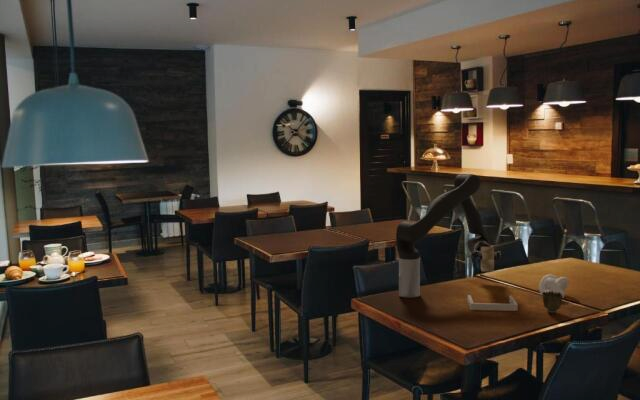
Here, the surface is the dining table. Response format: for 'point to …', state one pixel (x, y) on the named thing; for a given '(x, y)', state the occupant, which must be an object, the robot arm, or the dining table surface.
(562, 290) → the white lumpy cloud shape
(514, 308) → the tray
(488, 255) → the maple block
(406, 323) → the dining table surface
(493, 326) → the dining table surface
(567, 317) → the dining table surface
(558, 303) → the cup
